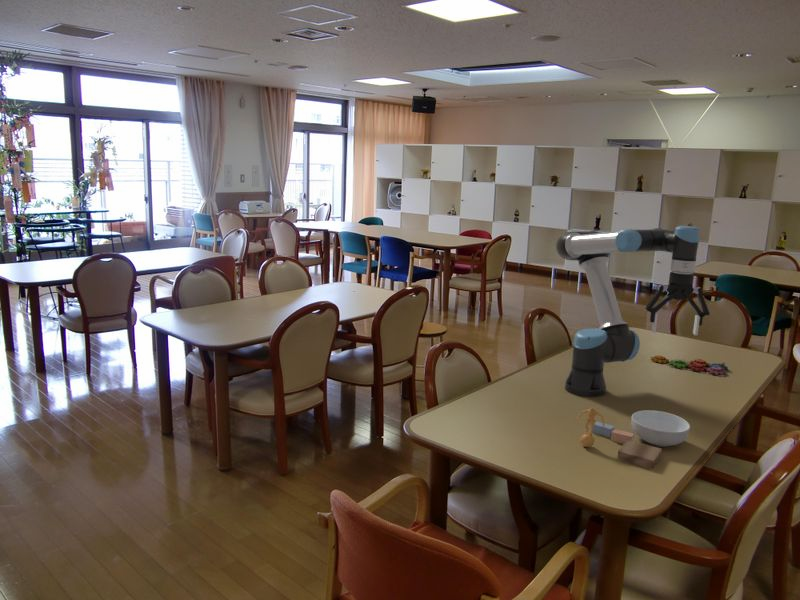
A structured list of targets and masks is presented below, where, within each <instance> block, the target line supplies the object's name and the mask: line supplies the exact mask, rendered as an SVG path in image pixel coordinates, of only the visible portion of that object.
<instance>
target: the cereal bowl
mask: <svg viewBox="0 0 800 600" xmlns="http://www.w3.org/2000/svg"><path fill="white" fill-rule="evenodd" d="M630 422H631V428H632V431H633V432H634V433H635V434H634V435H637V436H638V438H640V439H641V440H644V441H645V442H646V443H648V444H650V445H651V446H652V445H653V446H655V447H670V446H676V445H679V444H681V443H683V442H685V440H686V439H687V438H688V436H689V433H690V430H691V425H690V423H689V422H688V421H687V420H685V419H684V418H682V417H681V416H678V415H676V414H673V413H670V412H667V411H666V412H665V411H661V410H649V409H646V410H645V409H644V410H639V411H636V412H633V413H632V415H631V419H630Z"/></svg>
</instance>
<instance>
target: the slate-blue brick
mask: <svg viewBox="0 0 800 600" xmlns="http://www.w3.org/2000/svg"><path fill="white" fill-rule="evenodd" d="M602 424H603V422H600V421H597V420H595V425H594V427H593V431H592V434H597V435H600V436H604V437H606V438H611V434H612V431H613V430H614V429H615V426H613V425H611V424H607V423H604V425H602ZM603 426H604V427H603Z"/></svg>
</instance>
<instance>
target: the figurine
mask: <svg viewBox="0 0 800 600" xmlns="http://www.w3.org/2000/svg"><path fill="white" fill-rule="evenodd" d="M583 413H588V417H587V418H586V421H585V429H586V430H585V433H584V434H583V435H581V437H580V443H581V445H582V446H583V447H585V448H590V447H592V446H594V444H595V438H594V436H593V432H592V431H593V427H594V425H595V422H596V419H595V417H596V415H598V416H600V417H601V421H602V422H601V423H603V424H602V425H604V424H605V420H604V415H602V414H601V413H599V411H598V410H597V409H596V408H594V407H590V408H589V409H585V410H582V411H581V412H580V413H579V415H578V416H577V418H576V422H577V421H578V420H579V419H580V417H581V416H582V415H583ZM589 425H591V426H590V432H588V430H589ZM603 427H604V426H603Z"/></svg>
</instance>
